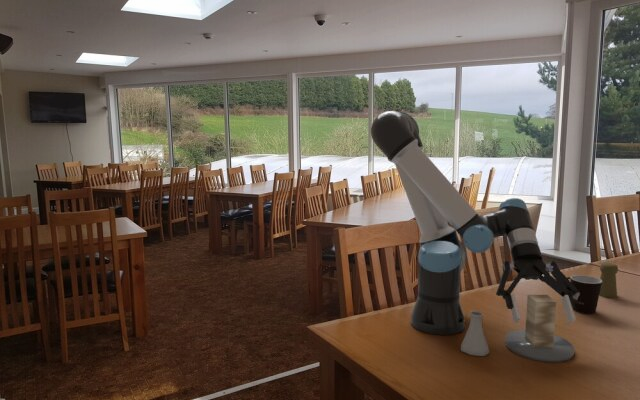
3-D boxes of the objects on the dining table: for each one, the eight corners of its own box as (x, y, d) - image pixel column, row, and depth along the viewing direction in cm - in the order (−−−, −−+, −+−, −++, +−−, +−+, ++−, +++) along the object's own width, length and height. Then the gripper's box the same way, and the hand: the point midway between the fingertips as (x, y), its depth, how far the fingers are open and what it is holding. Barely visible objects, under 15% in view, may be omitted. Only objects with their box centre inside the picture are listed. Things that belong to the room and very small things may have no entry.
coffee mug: (604, 316, 140) (606, 284, 139) (573, 314, 142) (575, 282, 140) (590, 302, 151) (592, 273, 150) (561, 301, 153) (563, 271, 152)
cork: (617, 293, 160) (619, 262, 158) (617, 299, 155) (619, 267, 153) (596, 290, 163) (599, 260, 161) (596, 295, 158) (598, 264, 156)
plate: (528, 364, 111) (528, 359, 111) (493, 336, 126) (494, 332, 126) (588, 359, 113) (589, 354, 113) (547, 332, 129) (548, 328, 128)
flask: (486, 359, 113) (488, 320, 112) (456, 352, 117) (458, 314, 116) (492, 348, 119) (494, 311, 118) (464, 341, 123) (465, 305, 122)
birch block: (533, 347, 117) (536, 301, 116) (524, 338, 122) (527, 294, 120) (553, 347, 117) (556, 301, 115) (544, 338, 122) (546, 294, 120)
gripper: (564, 255, 132) (588, 327, 119) (475, 254, 133) (490, 325, 120) (575, 241, 126) (601, 315, 113) (482, 240, 127) (498, 314, 114)
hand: (544, 321), depth 117 cm, fingers open, 13 cm apart
